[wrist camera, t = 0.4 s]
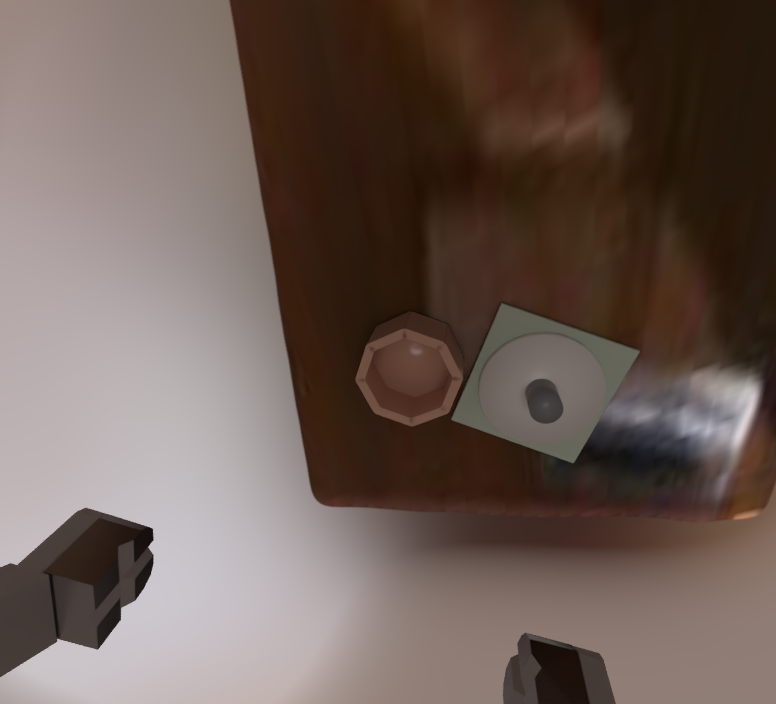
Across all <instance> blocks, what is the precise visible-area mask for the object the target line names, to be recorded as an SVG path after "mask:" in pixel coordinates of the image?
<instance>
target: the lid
mask: <svg viewBox="0 0 776 704" xmlns="http://www.w3.org/2000/svg"><path fill="white" fill-rule="evenodd" d="M605 394H606V381H605V376H604V373H603V370H602V368H601V366H600V364H599V362H598V360H597V359H596V358H595V356H594V355H593V353H592V352H591V351H590V350H589V349H588V348H587V347H586V346H584V345H583V344H582V343H581V342H579V341H577V340H575V339H574V338H571V337H569V336H567V335H563V334H560V333H554V332H533V333H528V334H524V335H521V336H518V337H515V338H513V339H511V340H509V341H507V342H506V343H504V344H503V345H501V346H500V347H499V348H498V349H496V350H495V352H494V353H493V354H492V355H491V356H490V357H489V359H488V360H487V361H486V363H485V365H484V367H483V369H482V372H481V375H480V380H479V398H480V403H481V407H482V409H483V412H484V414H485V416H486V417H487V419H488V420H489V421H490V423H491V424H492V425H493V426H494V427H495V428H496V429H497V430H498V431H500V432H501V433H502V434H504V435H506V436H508V437H509V438H512V439H514V440H517V441H520V442H524V443H529V444H551V443H556V442H560V441H564V440H566V439H569V438H571V437H573V436H575V435H577V434H578V433H580V432H581V431H583V430H584V429H585V428H587V427H588V426H589V425H590V424H591V423H592V422H593V420H594V419H595V418H596V417H597V415H598V414H599V412H600V410H601V408H602V406H603V403H604V400H605Z"/></svg>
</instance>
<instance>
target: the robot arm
mask: <svg viewBox="0 0 776 704" xmlns="http://www.w3.org/2000/svg"><path fill="white" fill-rule="evenodd" d="M152 541H153V529H152V528H150V527H147V526H144V525H140V524H137V523H134V522H131V521H128V520H124V519H121V518H118V517H115V516H112V515H108V514H105V513H101V512H98V511H95V510H92V509H88V508H84V509H82V510H80V511H78V512H76V513H75V514H74V515H73V516H71V518H69V519H68V520H67V521H66V522H65V523H64V524H63V525H61V526H60V527H59V528H58V529H57V530H56V531H55V532H54V533H53V534H52V535H50V536H49V537H48V538H47V539H46V540H45V541H44V542H43V543H41V544H40V545H39V546H38V547H37V548H36V549H35V550H34V551H32V552H31V553H30V554H29V555H28V556H27V557H26V558H25V559H24V560H22V561H21V562H20V563H19V564H18V565H15V564H11V563H10V564H8V565H5V566H3V567H0V677H1V676H3V675H4V674H6V673H7V672H9V671H11V670H12V669H14V668H16V667H17V666H19V665H20V664H22V663H24V662H25V661H27V660H28V659H30V658H32V657H33V656H35V655H36V654H38V653H40V652H41V651H43V650H45V649H46V648H48V647H49V646H51V645H52V644H54V643H56V642H57V639H60V640H64V641H68V642H72V643H75V644H79V645H83V646H86V647H91V648H94V649H99V648H100V646H101V645H102V644H103V642H104V641H105V640H106V638H107V637H108V636H109V634H110V633H111V632H112V630H113V629H114V628H115V627H116V625H117V624H118V623H119V621H120V620H121V607H124V606H126V605H127V604H129V603H131V602H133V601H135V600H136V599H137V597H138V596H139V594H140V593H141V592H142V590H143V589H144V587H145V585H146V583H147V581H148V579H149V577H150V575H151V571H152V567H153V554H152V552H151V551H150V550H149V548H148V546H149V545H150V543H151V542H152ZM503 699H504V704H616V703H615V700H614V696H613V693H612V689H611V686H610V682H609V678H608V675H607V671H606V667H605V664H604V660H603V658H602V657H601V655H600V654H599V653H596V652H592V651H589V650H585V649H582V648H578V647H575V646H572V645H569V644H565V643H562V642H558V641H555V640H551V639H547V638H543V637H540V636H536V635H532V634H528V633H524V634H523V635H522V636H521V638H520V640H519V642H518V655H516V656H513V657H511V659H510V661H509V663H508V666H507V668H506V673H505V678H504V688H503Z"/></svg>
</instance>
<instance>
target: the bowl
mask: <svg viewBox="0 0 776 704" xmlns="http://www.w3.org/2000/svg"><path fill="white" fill-rule="evenodd" d="M463 359H464V356H463V354H462V352H461V350H460V348H459V346H458V344H457V342H456V340H455V338H454V336H453V334H452V332H451V330H450V328H449V326H448V324H447V323H444V322H441V321H438V320H435V319H432V318H429V317H427V316H424V315H421V314H418V313H415V312H412V311H411V312H410V311H409V312H407V313H404V314H402V315H400V316H398V317H396V318H393V319H391V320H389V321H387V322H385V323H382V324H380V325H378V326H377V327H376V328H375V330H374V332H373V334H372V336H371V337H370V339H369V341H368V343H367V345H366V348H365V351H364V354H363V357H362V360H361V363H360V367H359V370H358V373H357V376H356V379H355V380H356V382H357V384H358V386H359V388H360V389H361V391H362V393H363V395H364V396H365V398H366V400H367V402H368V403H369V405H370V407H371V408H372V410H373V412H375V414H378V415H381V416H383V417H386V418H389V419H392V420H395V421H397V422H400V423H403V424H406V425H409V426H415V425H418V424H421V423H423V422H426V421H429V420H431V419H434V418H437V417H440V416H442V415H445V414H448V413H449V411H450V409H451V406H452V404H453V402H454V399H455V397H456V395H457V392H458V390H459V387H460V385H461V383H462V380H463Z"/></svg>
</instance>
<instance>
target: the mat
mask: <svg viewBox="0 0 776 704" xmlns="http://www.w3.org/2000/svg"><path fill="white" fill-rule="evenodd" d="M533 332H554V333H560V334H563V335H567V336H569V337H571V338H574V339H575V340H577V341H579V342H581V343H582V344H583V345H584V346H586V347H587V348H588V349H589V350H590V351H591V352H592V353H593V355H594V356H595V358H596V359H597V360H598V362H599V364H600V366H601V368H602V370H603V373H604V376H605V381H606V394H605V400H604V403H603V406H602V408H601V410H600V412H599V414H598V415H597V417H596V418H595V419H594V420H593V422H592V423H591V424H590V425H589V426H588V427H587V428H585V429H584V430H583V431H581V432H580V433H578V434H577V435H575V436H573V437H571V438H569V439H566V440H564V441H560V442H556V443H551V444H529V443H524V442H520V441H517V440H514V439H512V438H509V437H508V436H506V435H504V434H502V433H501V432H500V431H498V430H497V429H496V428H495V427H494V426H493V425H492V424H491V423H490V421H489V420H488V419H487V417H486V416H485V414H484V412H483V409H482V407H481V403H480V398H479V380H480V375H481V372H482V369H483V367H484V365H485V363H486V361H487V360H488V359H489V357H490V356H491V355H492V354H493V353H494V352H495V350H496V349H498V348H499V347H500V346H501V345H503V344H504V343H506V342H507V341H509V340H511V339H513V338H515V337H518V336H521V335H524V334H528V333H533ZM639 352H640V351H639V350H638V349H635V348H632V347H629V346H626V345H624V344H621V343H618V342H615V341H612V340H609V339H606V338H603V337H601V336H598V335H595V334H592V333H589V332H586V331H583V330H580V329H578V328H575V327H572V326H569V325H566V324H563V323H560V322H557V321H555V320H552V319H549V318H546V317H543V316H540V315H537V314H534V313H531V312H529V311H526V310H523V309H520V308H517V307H514V306H511V305H508V304H506V303H503V302H501V304H500V306H499V309H498V311H497V313H496V315H495V318H494V320H493V322H492V325H491V327H490V329H489V332H488V334H487V336H486V339H485V341H484V343H483V346H482V348H481V350H480V352H479V355H478V357H477V359H476V362H475V364H474V366H473V369H472V371H471V373H470V376H469V378H468V380H467V383H466V385H465V387H464V389H463V392H462V394H461V396H460V399H459V401H458V403H457V406H456V408H455V410H454V413H453V415H452V417H451V420H453V421H456V422H459V423H461V424H464V425H467V426H470V427H473V428H476V429H478V430H481V431H484V432H487V433H490V434H492V435H495V436H498V437H501V438H504V439H507V440H509V441H512V442H515V443H518V444H521V445H524V446H526V447H529V448H532V449H535V450H538V451H540V452H543V453H546V454H549V455H552V456H555V457H557V458H560V459H563V460H566V461H569V462H572V463H574V462H575V460H576V458H577V457H578V455H579V453H580V451H581V450H582V448H583V446H584V445H585V443H586V441H587V440H588V438H589V436H590V435H591V433H592V431H593V430H594V428H595V426H596V424H597V423H598V421H599V419H600V418H601V416H602V414H603V413H604V411H605V409H606V408H607V406H608V404H609V403H610V401H611V399H612V398H613V396H614V394H615V392H616V391H617V389H618V387H619V386H620V384H621V382H622V381H623V379H624V377H625V376H626V374H627V372H628V371H629V369H630V367H631V365H632V364H633V362H634V360H635V359H636V357H637V355H638V354H639Z"/></svg>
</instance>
